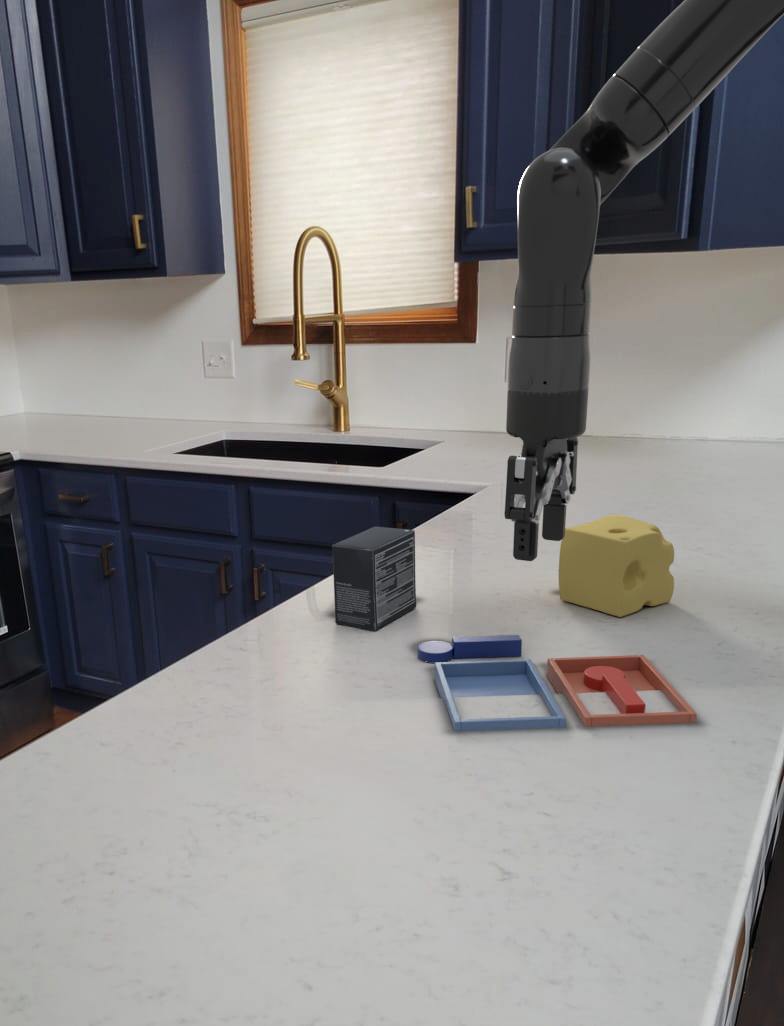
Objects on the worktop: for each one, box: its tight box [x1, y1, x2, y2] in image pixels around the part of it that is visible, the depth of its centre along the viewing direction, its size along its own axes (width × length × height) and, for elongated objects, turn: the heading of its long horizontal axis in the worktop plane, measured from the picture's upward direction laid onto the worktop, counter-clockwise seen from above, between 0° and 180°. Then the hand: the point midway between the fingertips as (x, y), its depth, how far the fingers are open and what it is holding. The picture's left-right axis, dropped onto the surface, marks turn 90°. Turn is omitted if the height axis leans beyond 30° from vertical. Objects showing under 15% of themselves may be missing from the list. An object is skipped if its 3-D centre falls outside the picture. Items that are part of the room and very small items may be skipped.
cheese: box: [558, 513, 675, 618], centre depth 123 cm, size 10×11×10 cm
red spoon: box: [584, 666, 646, 714], centre depth 95 cm, size 12×4×2 cm, turn 0°
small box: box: [331, 525, 417, 632], centre depth 121 cm, size 11×6×10 cm, turn 145°
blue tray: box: [434, 658, 567, 732], centre depth 95 cm, size 10×15×2 cm
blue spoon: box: [417, 634, 523, 664], centre depth 108 cm, size 12×4×2 cm, turn 90°
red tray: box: [546, 654, 697, 727], centre depth 95 cm, size 10×15×2 cm
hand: (539, 549), depth 97 cm, fingers open, 8 cm apart
